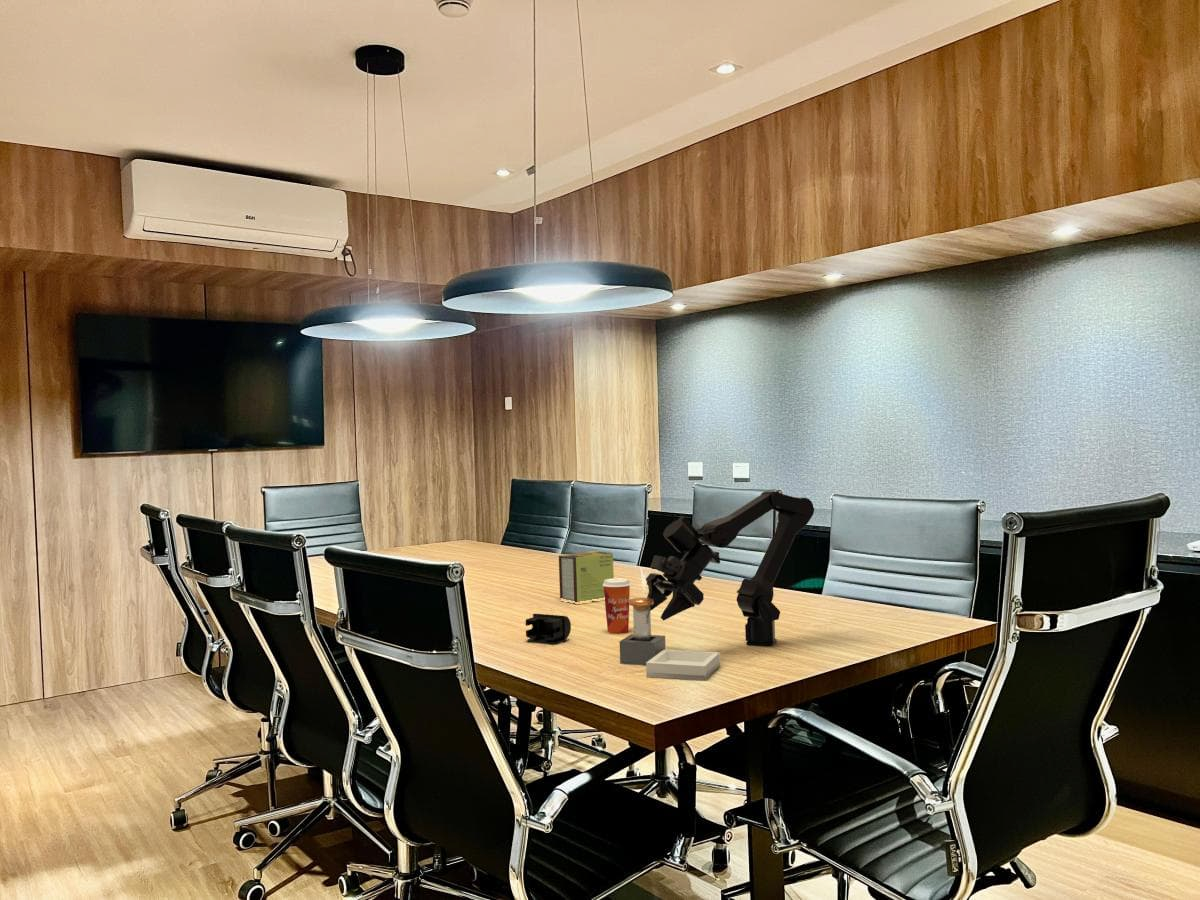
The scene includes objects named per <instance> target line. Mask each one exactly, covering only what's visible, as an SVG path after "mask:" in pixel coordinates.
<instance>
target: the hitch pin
mask: <svg viewBox="0 0 1200 900" xmlns="http://www.w3.org/2000/svg"><path fill="white" fill-rule="evenodd" d="M653 604H654V602H653V599H651V598H647V597H635V598H634V597H633V598H629V606H632V617H633V620H632V622H633V634H634V641H651V635H652V624H651V623H652V622H651V621H652V620H651V611H650V605H653Z"/></svg>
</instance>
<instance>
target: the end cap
mask: <svg viewBox="0 0 1200 900" xmlns="http://www.w3.org/2000/svg"><path fill="white" fill-rule="evenodd" d="M530 625H531V626H532V627H531V628H530V629H526V630H525V636H526V638H528V639H526V642H527V643H532V644H543V645H554V646H556V645H560V644H562V643H564V642H565V641H566V640H567V639H568V637H569V636H570V634H571V630H572V623H571V620H570V618H569V617H568V616H566V615H558V614H546V613H545V614H543V613H532V617H529V618H526V619H525V626H526V627H527V626H530Z"/></svg>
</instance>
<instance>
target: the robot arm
mask: <svg viewBox="0 0 1200 900" xmlns="http://www.w3.org/2000/svg"><path fill="white" fill-rule="evenodd" d="M772 510H773V511H776V512H778V513H777V524H778V525H777V527H776V530H775V532H774V534H773V536H772V538H771V539H770V542H769V544H768V547H767V548H766V550H765V553H764V555H763V557H762V559H761V561H760V564H759V565H758V567H757V570H756V572H755V574H754V576H752V577H751V578H743V580H742V581H741V584H740V587H739V588H738V589H737V590H736V593H737V596H736V602H737V606H738V607H739V609H740V611H741V613H742V615H743V617H745V618H746V619H747V620H746V623H745V626H744V627H745V628H744V629H745V631H744V632H745V641H746V645H749V646H750V645H751V646H770V647H772V646H774V644H775V643H776V642H777V640H778V639H777V638H776V629H775V628H776V627H775V626H776V625H775V621H778V620H779V618H780V614H781V611H780V609H778V607H777V606H776V605H775V604H774V603H773V599H774V597H775V596H774V582H775V581H776V578H777V576H778V574H779V572H780V569H781V567H782V565H783V563H784V561H785V559H786V557H787V555H788V552H789V551H790V548H791V546H792V544H793V542H794V540H795V537H796V535H797V534H798V532H800V531H801V530H803V529H804V528H805V527H806V526H807V525H808V523H809V522H810V520H811V519H812V517H813V516H814V513H815V508H814V503H813V502H812V501H811V499H810V498H807V497H796V496H795V497H794V496H792V495H786V494H784V493H782V492H779V491H776V490H773V491H772V490H764V491H763V492H762V493H760V495H759V496H757V497H755V498H754V499H752V500H751V501H749V502H747V503H746V504H745V505H743V506H741V507H740V508H738V509H737V510H735V511H734V512H732V513H730V514H729V515H726V516H724V517H720V518H716V519H713V520H711V521H709V522H706V523H704V524H702V526H701V528H695V527H694V525H692V524H691V523H690V521H689V519H688V518H687V517H685V516H680V517H679V518H678V519H677V520H674V521H672V522H671V523H670V524H667V526H666V527H665V529H664V530H663V534H662V535H663V537H664V539H665V540H667V541H668V542H669V543H670V544H671V546H673V548H674V549H675V550H676V551H677V552H679V553H685V554H684V555H683V557H682V558H681V559H680V558H678V557H676V556H673V555H670V556H669V557H668V558H667V557H665V556H661V555H654V556H653V559H652V561H651V565H649V566H650V567H649V568H650V569H651V570H656V571H659V572H660V573H662V574H660V573H656V572H653V573H649V575H647V576H646V578H645V581H646V585H647V587H648V593H647V595H646V598H651V599H653V602H654V604H653V605H650V612H651V611H653V610H654V609H656V608H658V606H659V605H661V604H662V603H664V602H666V600H668V597H669V596H671V595H672V597H671V599H670V601H669V602H668V604H667V605H666V607H665V608H664V610H663V612H662V613H661V615H660V619H661V620H662V621H666V620H668V619H670V618H672V617H673V616H675V615H677V614H680V613H681V612H684V611H687V610H689V609H691V608H694V607H695V606H700V605H701V604H702V602H703V601H704V600H705V599H704V598H705V597H704V592H702V590H701V589H700V588H699V587H698V586H697V585H696V584H695V582H697V581H701V580H702V579H703V577H702V576H701V575H702V574H703V572H704V570H705V569H706V568H707V566H708V565H709V564H710V563H713V564H721V559H720V552H719V551H714V550H712V548H719V549H721V548H722V549H724V548H727V547H728V546H729V545H730V544H731V543H732V542H733V541H734V540H735V539H736V538H737V537H738V535H739V533H740V531H742V530H743V529H745V528H746V527H748V526H749V525H751V524H752V523H754V522H755V521H757V520H758V519H760V518H761V517H762V516H764V515H766V514H767V513H769V512H770V511H772Z"/></svg>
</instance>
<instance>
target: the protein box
mask: <svg viewBox="0 0 1200 900" xmlns="http://www.w3.org/2000/svg"><path fill="white" fill-rule="evenodd" d="M558 570H559V571H558V575H559V576H558V577H559V579H558V581H559V599H560V598H563V599H566V600H571V601H575V602H580V601H586V600H592V599H599V598H604V597H605V595H604V586H603V584H604V580H606V579H614V576H615V575H614V574H615V573H614V553H613V552H607V551H606V552H605V551H598V550H591V551H585V552H574V553H566V554H559V555H558Z"/></svg>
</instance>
